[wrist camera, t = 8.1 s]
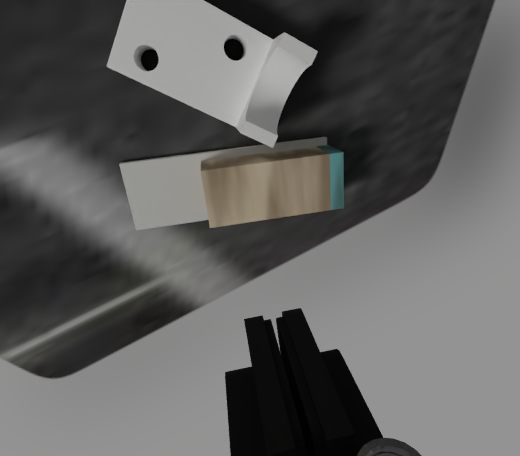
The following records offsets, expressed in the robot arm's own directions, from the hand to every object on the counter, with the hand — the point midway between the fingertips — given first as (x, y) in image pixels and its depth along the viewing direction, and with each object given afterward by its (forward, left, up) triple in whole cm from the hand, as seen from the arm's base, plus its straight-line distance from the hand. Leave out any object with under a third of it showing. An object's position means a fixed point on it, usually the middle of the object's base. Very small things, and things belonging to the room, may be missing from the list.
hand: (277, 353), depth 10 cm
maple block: (+2, +1, -22) cm, 22 cm away
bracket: (0, -9, -26) cm, 27 cm away
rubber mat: (0, +1, -25) cm, 25 cm away
